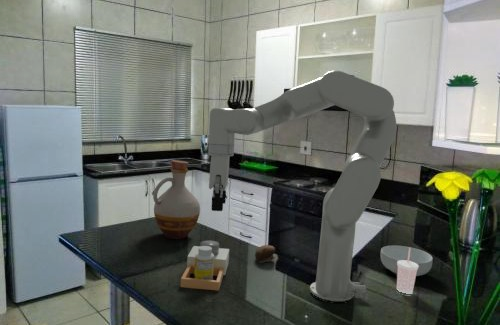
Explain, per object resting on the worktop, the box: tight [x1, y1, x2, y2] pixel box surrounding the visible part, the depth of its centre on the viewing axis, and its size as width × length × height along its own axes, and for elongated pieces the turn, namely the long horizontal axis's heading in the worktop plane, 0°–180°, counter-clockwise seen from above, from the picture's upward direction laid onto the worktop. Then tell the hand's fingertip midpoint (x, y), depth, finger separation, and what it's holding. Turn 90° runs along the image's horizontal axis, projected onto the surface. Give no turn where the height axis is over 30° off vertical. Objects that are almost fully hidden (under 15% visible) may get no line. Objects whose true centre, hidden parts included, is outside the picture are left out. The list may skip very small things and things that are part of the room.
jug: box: [152, 159, 201, 240], centre depth 158 cm, size 20×18×30 cm
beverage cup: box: [396, 246, 419, 295], centre depth 123 cm, size 6×6×14 cm
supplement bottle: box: [193, 245, 214, 280], centre depth 120 cm, size 6×6×10 cm
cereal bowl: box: [380, 245, 434, 277], centre depth 139 cm, size 17×17×7 cm
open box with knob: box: [179, 240, 230, 292], centre depth 125 cm, size 12×21×8 cm, turn 177°
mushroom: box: [254, 244, 276, 263], centre depth 140 cm, size 8×8×6 cm
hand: (218, 206), depth 122 cm, fingers open, 9 cm apart
